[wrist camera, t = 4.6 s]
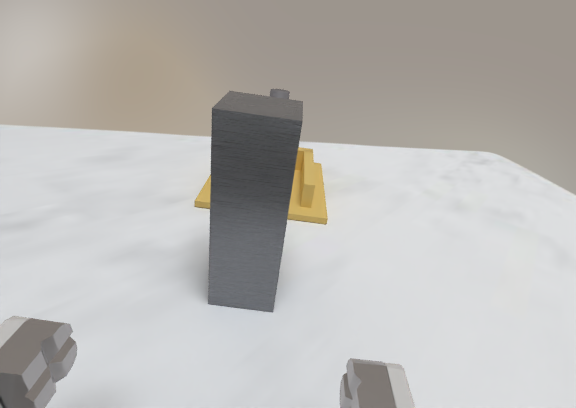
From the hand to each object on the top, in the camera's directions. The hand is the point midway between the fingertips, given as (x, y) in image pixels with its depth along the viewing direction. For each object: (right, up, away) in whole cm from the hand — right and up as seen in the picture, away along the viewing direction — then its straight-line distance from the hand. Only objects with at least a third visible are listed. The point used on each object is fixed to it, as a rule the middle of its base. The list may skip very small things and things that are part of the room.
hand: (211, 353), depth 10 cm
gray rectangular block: (-1, -1, +12) cm, 12 cm away
